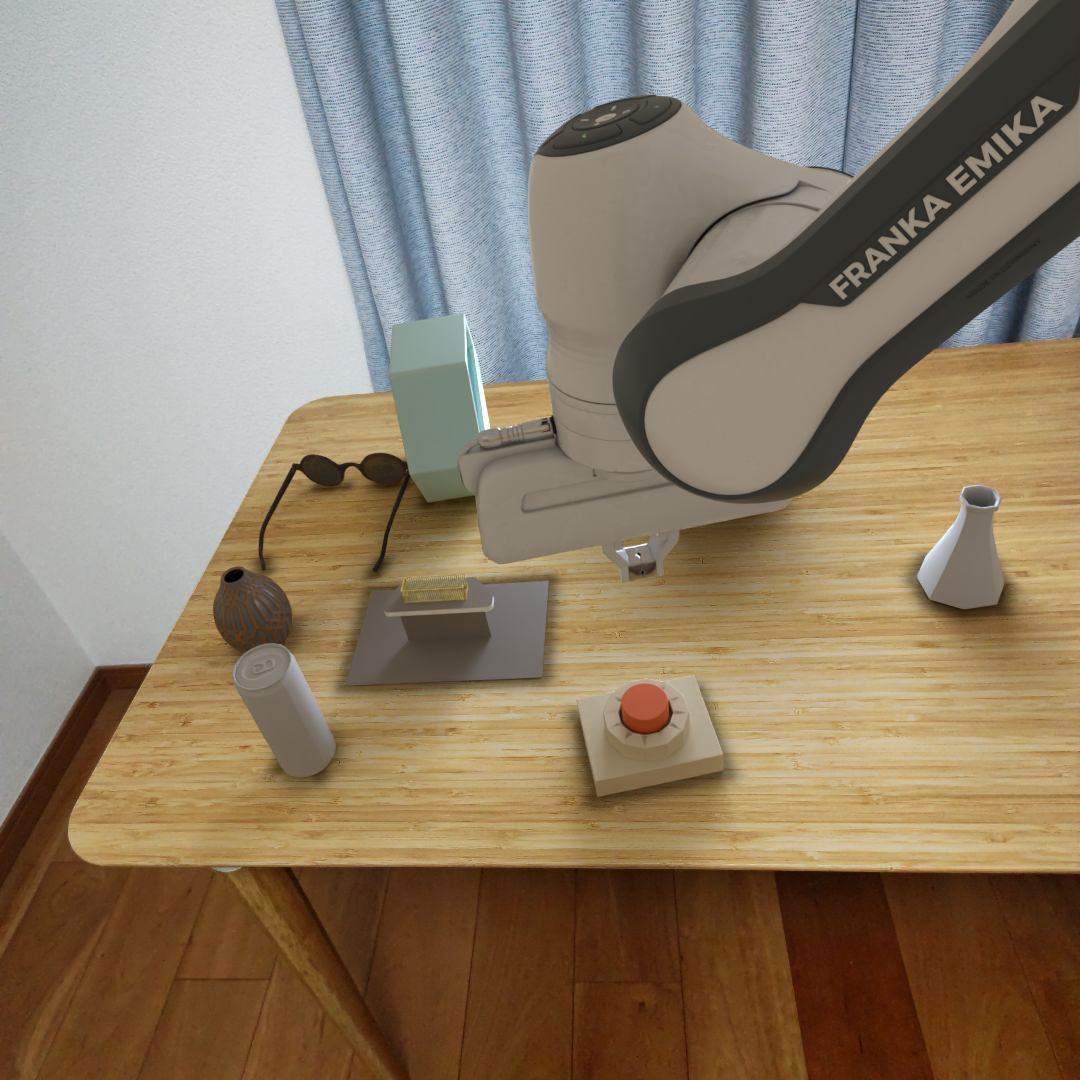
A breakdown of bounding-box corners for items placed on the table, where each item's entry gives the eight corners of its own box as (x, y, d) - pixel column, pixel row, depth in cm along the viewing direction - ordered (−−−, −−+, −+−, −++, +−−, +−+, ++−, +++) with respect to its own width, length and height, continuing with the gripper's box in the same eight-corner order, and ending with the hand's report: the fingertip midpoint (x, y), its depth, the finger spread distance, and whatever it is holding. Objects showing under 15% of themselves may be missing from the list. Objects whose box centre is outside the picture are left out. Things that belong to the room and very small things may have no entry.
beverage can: (278, 745, 77) (227, 655, 69) (332, 724, 78) (288, 633, 70) (286, 789, 74) (233, 700, 66) (342, 767, 75) (297, 676, 67)
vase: (315, 621, 88) (286, 557, 82) (272, 674, 84) (238, 610, 78) (260, 606, 91) (228, 542, 85) (216, 656, 86) (179, 593, 80)
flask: (918, 608, 79) (936, 523, 72) (914, 551, 84) (930, 467, 77) (1009, 615, 77) (1036, 528, 70) (999, 556, 82) (1023, 470, 75)
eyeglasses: (419, 482, 102) (409, 447, 99) (384, 574, 92) (372, 538, 88) (301, 484, 105) (287, 449, 102) (253, 573, 95) (236, 538, 91)
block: (695, 691, 76) (693, 660, 73) (723, 770, 70) (723, 740, 67) (578, 715, 75) (573, 685, 73) (597, 797, 69) (592, 768, 67)
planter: (501, 506, 104) (478, 443, 84) (435, 516, 104) (397, 456, 84) (483, 374, 109) (457, 284, 89) (419, 384, 109) (379, 297, 89)
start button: (662, 692, 71) (661, 678, 70) (674, 728, 69) (673, 715, 68) (618, 701, 71) (616, 687, 70) (628, 738, 69) (626, 724, 68)
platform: (371, 590, 90) (353, 543, 86) (548, 580, 88) (539, 531, 83) (345, 685, 81) (324, 637, 77) (542, 677, 79) (531, 627, 74)
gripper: (455, 470, 49) (495, 636, 59) (817, 399, 50) (800, 576, 59) (447, 408, 54) (486, 571, 63) (778, 344, 54) (768, 515, 64)
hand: (640, 573), depth 61 cm, fingers closed
